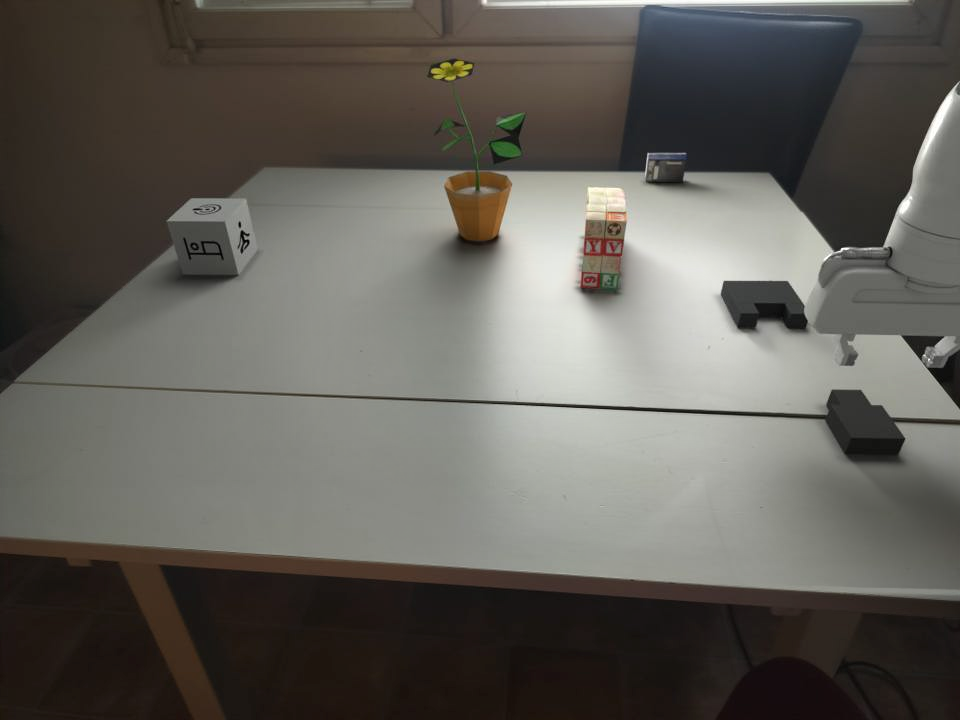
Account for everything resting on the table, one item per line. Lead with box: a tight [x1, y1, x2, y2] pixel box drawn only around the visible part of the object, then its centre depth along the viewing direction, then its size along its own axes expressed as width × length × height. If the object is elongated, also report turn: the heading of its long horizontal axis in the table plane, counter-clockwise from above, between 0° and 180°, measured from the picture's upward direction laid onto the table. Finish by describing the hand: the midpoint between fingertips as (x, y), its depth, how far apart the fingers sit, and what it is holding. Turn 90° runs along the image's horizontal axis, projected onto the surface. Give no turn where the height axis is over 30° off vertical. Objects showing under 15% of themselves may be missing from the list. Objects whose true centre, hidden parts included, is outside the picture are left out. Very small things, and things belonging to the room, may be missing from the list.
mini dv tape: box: [644, 152, 688, 183], centre depth 147 cm, size 8×2×6 cm, turn 86°
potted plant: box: [426, 58, 527, 242], centre depth 119 cm, size 18×19×30 cm
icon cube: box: [166, 197, 259, 276], centre depth 117 cm, size 10×10×10 cm
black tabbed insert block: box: [824, 388, 906, 456], centre depth 80 cm, size 6×9×2 cm, turn 177°
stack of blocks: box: [580, 187, 628, 291], centre depth 114 cm, size 21×6×12 cm, turn 171°
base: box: [720, 280, 809, 329], centre depth 102 cm, size 10×10×2 cm
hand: (887, 363), depth 73 cm, fingers open, 8 cm apart
